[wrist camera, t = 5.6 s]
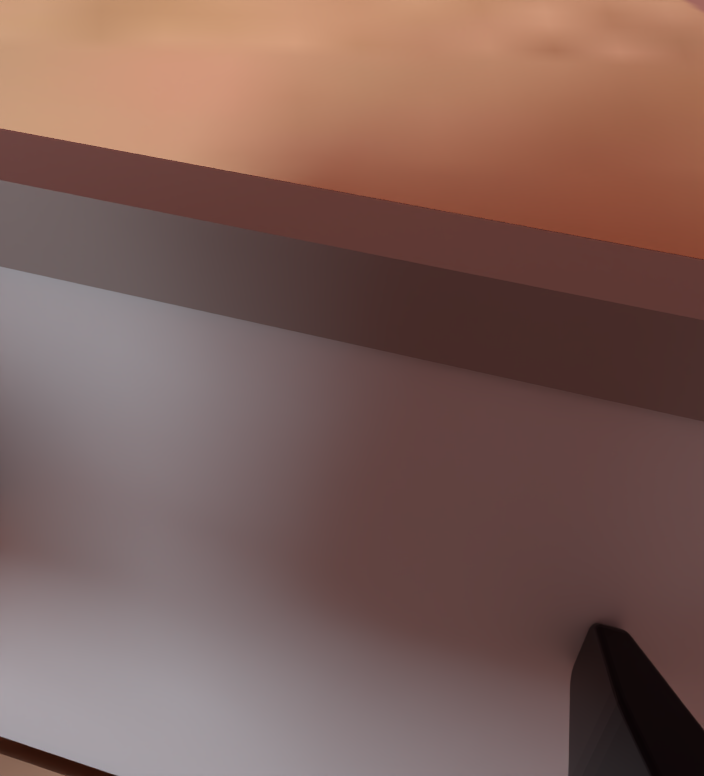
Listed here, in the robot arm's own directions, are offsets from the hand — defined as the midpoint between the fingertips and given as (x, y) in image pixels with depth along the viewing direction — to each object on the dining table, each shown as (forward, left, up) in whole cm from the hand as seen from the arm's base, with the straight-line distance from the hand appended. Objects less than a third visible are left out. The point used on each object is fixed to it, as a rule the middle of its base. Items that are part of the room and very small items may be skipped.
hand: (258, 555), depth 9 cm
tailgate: (-3, +4, -6) cm, 8 cm away
